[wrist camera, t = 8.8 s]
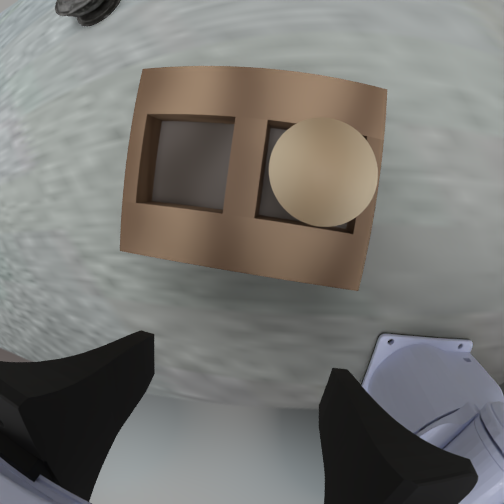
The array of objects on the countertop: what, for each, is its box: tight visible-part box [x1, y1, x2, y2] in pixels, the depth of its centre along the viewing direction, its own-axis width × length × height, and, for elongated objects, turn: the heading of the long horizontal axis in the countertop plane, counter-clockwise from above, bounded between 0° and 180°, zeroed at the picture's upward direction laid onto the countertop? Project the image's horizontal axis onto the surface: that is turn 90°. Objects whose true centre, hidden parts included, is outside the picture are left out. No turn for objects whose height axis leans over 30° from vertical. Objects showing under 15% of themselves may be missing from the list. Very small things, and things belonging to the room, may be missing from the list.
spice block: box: [120, 66, 387, 291], centre depth 18 cm, size 15×12×4 cm
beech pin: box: [269, 118, 378, 227], centre depth 14 cm, size 4×4×8 cm
